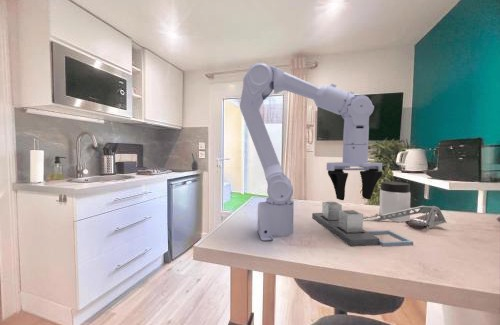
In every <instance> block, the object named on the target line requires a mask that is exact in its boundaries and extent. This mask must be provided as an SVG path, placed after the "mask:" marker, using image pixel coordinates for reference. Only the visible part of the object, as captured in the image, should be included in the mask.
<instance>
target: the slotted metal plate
mask: <svg viewBox="0 0 500 325" xmlns="http://www.w3.org/2000/svg"><path fill="white" fill-rule="evenodd" d="M311 217H312V219H313V220H314V221H315V222H317V223H318V224H320V225H321V226H323V227H324V228H325V229H327V230H328V231H329V232H330V233H332V235H334V236H336V237H337V238H338V239H339V240H341V241H342V242H343V243H345V244H346V245H347V246H348V247H350V248H351V247H366V246H367V247H371V246H374V247H375V246H380V245H379V240H381V239H380V238H379V237H378V236H377V235H372V234H370V233H369V232H367V231H368V230H365V229H363V233H357V234H346V233H344V232H343V231H341V230H340V229H339V221H326V220H325V219H323V218H322V212H312V213H311Z"/></svg>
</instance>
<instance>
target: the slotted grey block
mask: <svg viewBox="0 0 500 325" xmlns="http://www.w3.org/2000/svg"><path fill="white" fill-rule="evenodd" d="M321 209H322V210H321V213H322V218H323V219H325V220H326V221H339V210H343V205H342V204H341V203H339V202H336V201H322V205H321Z"/></svg>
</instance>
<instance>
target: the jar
mask: <svg viewBox="0 0 500 325" xmlns="http://www.w3.org/2000/svg"><path fill="white" fill-rule="evenodd" d="M410 185H411V184H410V183H407V182H400V181H381V182H380V189H379V213H378V215H383V214H387V213H392V212H396V211H401V210H405V209H410V208H411V196H412V195H411V194H412V193H411V191H410V188H411V187H410ZM406 212H407V211H405V212H403V213H404V214H405V213H406ZM392 215H393V216H394V215H395V214H392ZM398 215H401V213H399V214H398ZM410 216H411V215H407V216H402V217H397V218H391V219H388V221H391V222H395V223H406V221H409V220H410V221H411V218H410ZM383 217H384V218H385V217H386V216H383ZM388 217H391V216H390V215H389V216H388ZM410 221H409V222H410Z"/></svg>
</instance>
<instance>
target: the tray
mask: <svg viewBox="0 0 500 325" xmlns="http://www.w3.org/2000/svg"><path fill="white" fill-rule="evenodd" d="M366 231H367V232H369V233H370V234H372V235H374V236H377V235H381V236H382V235H389V236H391V237H393V238H395V239H398V240H394V241H393V240H392V241H390V240H389V241H384V240H382V239H380V240H379V245H378V246H381V247H403V246H404V247H406V246H414V241H413V240H411V239H409V238H406V237H404V236H402V235H400V234H399V233H396V232H394V231H392V230H389V229H387V230H383V229H382V230H366Z"/></svg>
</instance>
